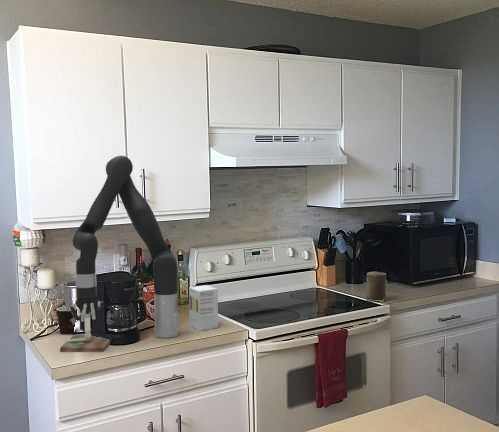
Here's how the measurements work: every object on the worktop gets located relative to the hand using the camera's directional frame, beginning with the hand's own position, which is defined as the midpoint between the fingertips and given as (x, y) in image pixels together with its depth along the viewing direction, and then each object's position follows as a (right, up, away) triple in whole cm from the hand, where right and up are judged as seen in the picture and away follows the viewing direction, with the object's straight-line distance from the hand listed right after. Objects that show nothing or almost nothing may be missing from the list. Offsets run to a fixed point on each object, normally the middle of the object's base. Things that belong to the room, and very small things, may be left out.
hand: (87, 329), depth 221 cm
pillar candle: (+126, +1, +72) cm, 145 cm away
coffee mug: (-12, -5, +19) cm, 23 cm away
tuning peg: (-3, -4, 0) cm, 5 cm away
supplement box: (+42, -4, +25) cm, 49 cm away
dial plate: (0, -6, +1) cm, 6 cm away
